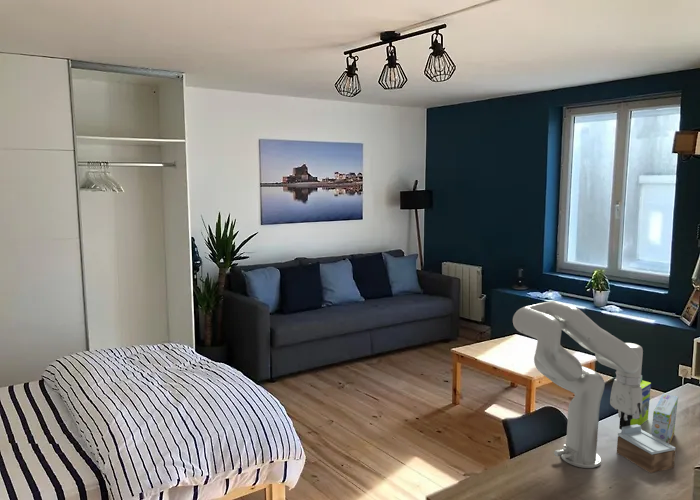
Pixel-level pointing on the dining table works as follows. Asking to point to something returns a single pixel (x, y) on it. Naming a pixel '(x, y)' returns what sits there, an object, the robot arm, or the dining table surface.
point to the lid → (644, 440)
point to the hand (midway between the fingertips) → (624, 429)
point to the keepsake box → (645, 457)
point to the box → (643, 403)
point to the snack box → (665, 418)
